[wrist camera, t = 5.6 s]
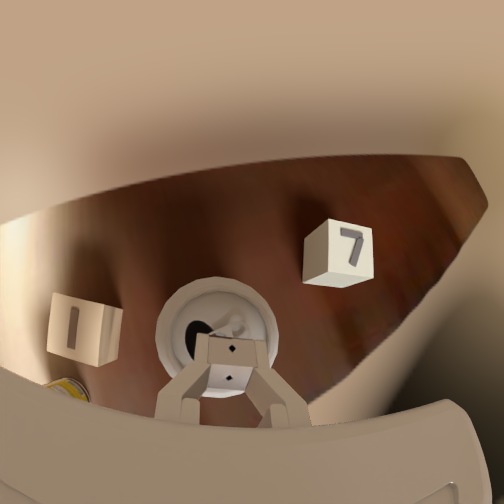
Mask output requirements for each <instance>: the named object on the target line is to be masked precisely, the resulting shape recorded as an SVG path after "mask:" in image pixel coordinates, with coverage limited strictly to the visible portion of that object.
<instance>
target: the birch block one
mask: <svg viewBox="0 0 504 504" xmlns="http://www.w3.org/2000/svg"><path fill="white" fill-rule="evenodd" d="M122 312H123V309H119V308H115V307H112V306H108V305H104V304H100V303H95V302H91V301H87V300H82V299H78V298H74V297H70V296H66V295H62V294H59V293H55V292H53V296H52V303H51V310H50V318H49V327H48V338H47V351H48V352H51V353H54V354H57V355H60V356H63V357H66V358H69V359H72V360H75V361H79V362H82V363H85V364H89V365H92V366H96V367H99V366H101V365H104V364H106V363H109V362H111V361H113V360H116V359H117V357H118V346H119V336H120V327H121V319H122Z"/></svg>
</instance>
